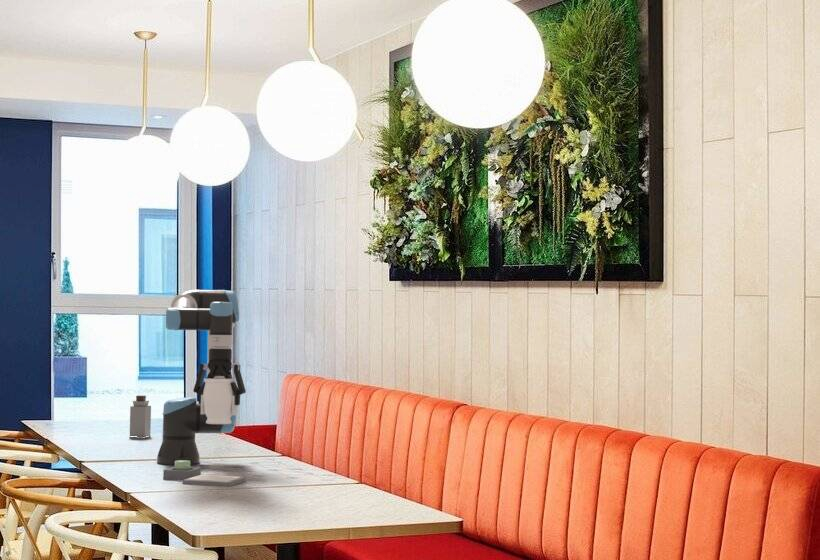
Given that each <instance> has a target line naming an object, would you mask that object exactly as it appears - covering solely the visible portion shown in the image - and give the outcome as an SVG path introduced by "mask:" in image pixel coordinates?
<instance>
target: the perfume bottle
mask: <svg viewBox="0 0 820 560" xmlns="http://www.w3.org/2000/svg"><path fill="white" fill-rule="evenodd" d="M146 398H147V395H141V394H140V395H139V394H138V395H136V396H135V399H136V400H132V406H130V409H129V410H130V411H129V412H130V413H129V437H130V436H137V437H146V436H150V437H151V430H152V429H151V426H152V425H151V423H152V421H151V420H152V419H151V418H152V406H151V405H149V403H150V400H147V399H146Z"/></svg>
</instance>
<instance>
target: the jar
mask: <svg viewBox="0 0 820 560" xmlns="http://www.w3.org/2000/svg"><path fill="white" fill-rule="evenodd" d="M204 382H205V387H204V392H203V402H204V409H205V414H206V416H207V421H206V423H207V424H231V423H232V422H231V420H230V417H231V416H232V396H234V393H233V391H232V388H231V382H235V383H236V382H237V381H236V378H233V379H226V378H213V379H208V378H207V377H204V379H203V383H204Z"/></svg>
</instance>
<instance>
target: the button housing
mask: <svg viewBox="0 0 820 560" xmlns="http://www.w3.org/2000/svg"><path fill="white" fill-rule="evenodd" d="M198 475H202V468H201V467H193V466H190V470H187V471H185V470H175V466H173V467H170V468H165V469H163V475H162V477H163V478H162V479H163V480H173V481H174V480H175V481H183V480H185V479H188V478H192V477H195V476H198Z"/></svg>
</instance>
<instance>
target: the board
mask: <svg viewBox="0 0 820 560" xmlns="http://www.w3.org/2000/svg"><path fill="white" fill-rule="evenodd" d="M246 480H247V477H243V476H237V475H236V476H235V475H233V476H232V475H217V474H216V475H215V474H205V473H204V474H202V473H201V475H198V476H195V477H192V478H188V479H185V480H182V483H181V484H182V485H193V486H194V485H195V486H209V487H224V488H231V487H232V486H235V485H236V486H237V485H238V484H239V485H240V484H241V483H244V482H246Z"/></svg>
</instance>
